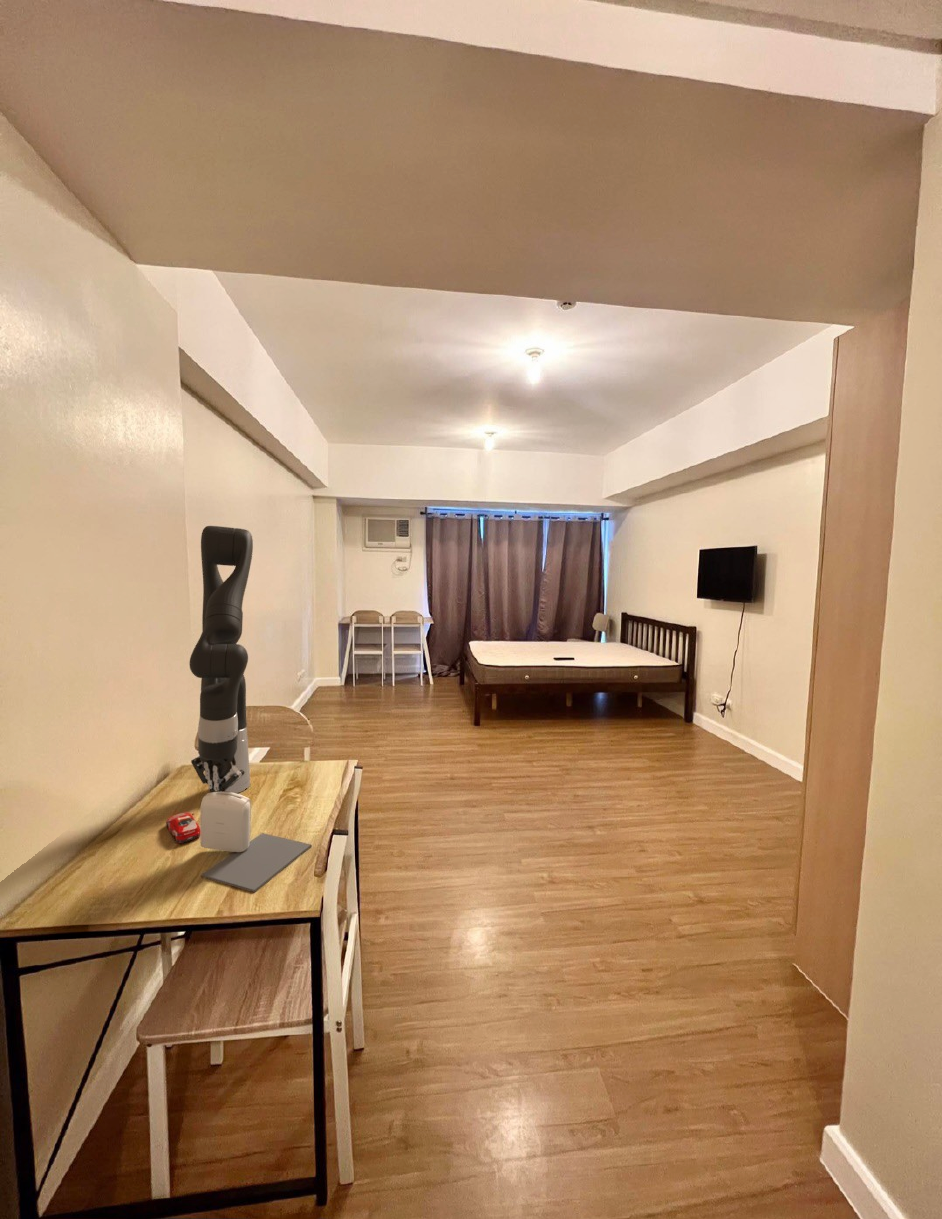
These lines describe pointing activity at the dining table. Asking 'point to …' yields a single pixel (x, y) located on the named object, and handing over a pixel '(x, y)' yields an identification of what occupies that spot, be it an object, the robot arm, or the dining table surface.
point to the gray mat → (257, 862)
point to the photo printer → (225, 821)
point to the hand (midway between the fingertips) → (217, 801)
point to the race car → (183, 827)
